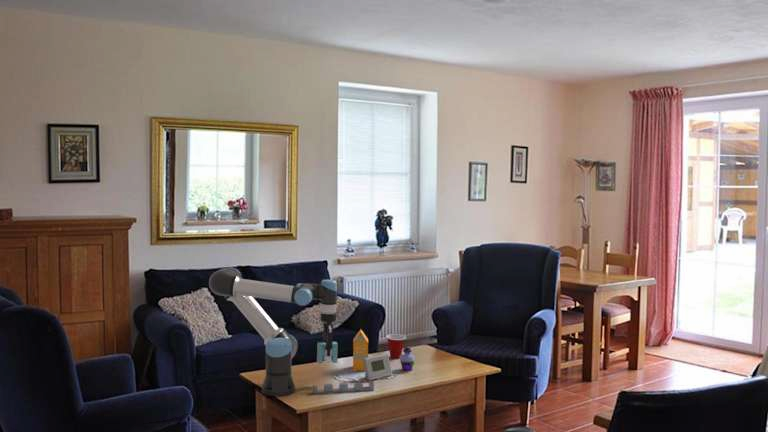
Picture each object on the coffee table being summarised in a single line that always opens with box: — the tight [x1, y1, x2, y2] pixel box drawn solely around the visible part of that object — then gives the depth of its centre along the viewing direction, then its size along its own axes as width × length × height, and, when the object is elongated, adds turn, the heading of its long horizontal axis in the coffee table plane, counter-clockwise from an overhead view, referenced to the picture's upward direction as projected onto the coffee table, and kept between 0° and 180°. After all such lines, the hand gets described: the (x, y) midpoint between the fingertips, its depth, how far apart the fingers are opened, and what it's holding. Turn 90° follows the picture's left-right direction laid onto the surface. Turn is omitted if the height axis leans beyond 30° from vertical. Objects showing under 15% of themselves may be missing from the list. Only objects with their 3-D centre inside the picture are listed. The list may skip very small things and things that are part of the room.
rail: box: [312, 380, 375, 395], centre depth 310 cm, size 28×3×4 cm, turn 104°
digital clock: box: [363, 353, 393, 382], centre depth 334 cm, size 16×9×11 cm, turn 122°
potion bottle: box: [399, 345, 416, 372], centre depth 348 cm, size 9×9×12 cm
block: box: [316, 341, 339, 364], centre depth 321 cm, size 9×4×9 cm, turn 104°
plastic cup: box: [386, 333, 407, 360], centre depth 372 cm, size 11×11×12 cm
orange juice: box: [352, 328, 369, 371], centre depth 349 cm, size 8×9×20 cm
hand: (327, 361), depth 321 cm, fingers closed on block, 4 cm apart
